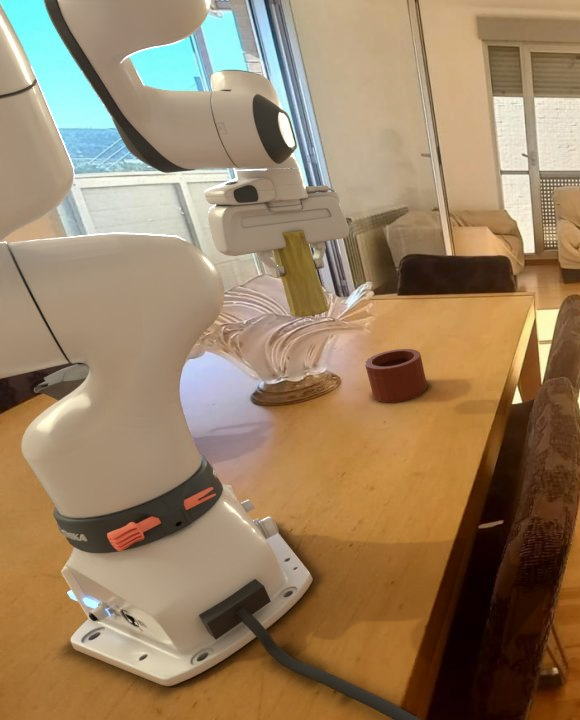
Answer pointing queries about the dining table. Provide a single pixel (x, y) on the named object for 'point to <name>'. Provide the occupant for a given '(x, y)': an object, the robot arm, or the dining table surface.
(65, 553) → the dining table surface
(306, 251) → the bamboo tube section
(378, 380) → the jar
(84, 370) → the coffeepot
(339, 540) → the dining table surface
